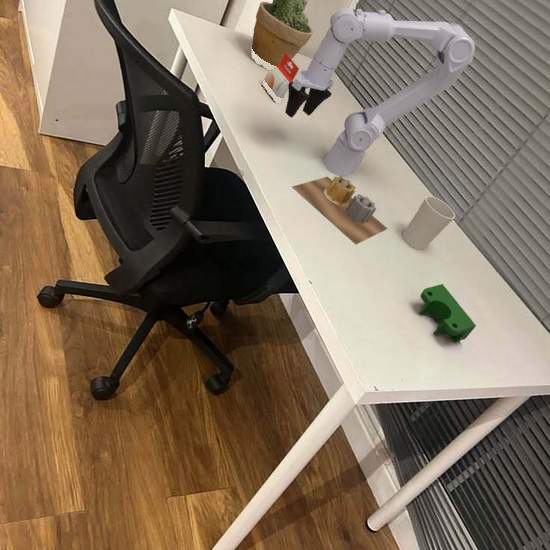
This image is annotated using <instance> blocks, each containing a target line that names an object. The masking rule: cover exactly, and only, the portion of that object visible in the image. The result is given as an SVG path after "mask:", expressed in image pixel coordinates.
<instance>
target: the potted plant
mask: <svg viewBox="0 0 550 550" xmlns="http://www.w3.org/2000/svg"><path fill="white" fill-rule="evenodd" d="M307 5H308V0H272V2H269V1H268V2H267V1H261V2H260V4H259V5H258V10H257V12H256V15H255V20H256V21H255V23H254V27H253V36H252V43H251V47H252V49H253V51H254V52H255V54H257V55H258V56H259V57H260V58H261V59H263V60H264V61H266V62H268V63H270V64H271V65H274V66H278V65H279V64H280V62H281V60H282V58H283V56H284V53H286V54H287V55H288V56H289V58H290V59H291V60H292V61H293V59H294V57H296V55H297V54H298V53H299V52H300V51H301V49H302V48H303V46H305V45H306V44H307V43H308V41H309V40H310V38H312V35H313V34H314V30H313V29H312V27H311V26H310V25H309V22H310V20H309V19H308V17H307V14H305V13H304V11H305V8H306V6H307ZM289 63H290V62H289V61H287V64H288V65H289Z"/></svg>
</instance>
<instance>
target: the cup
mask: <svg viewBox="0 0 550 550" xmlns="http://www.w3.org/2000/svg"><path fill="white" fill-rule="evenodd" d="M455 218H456V214H455V212H454V210H453V209H452V208H451V207H450V206H449V205H448V204H447V203H446V202H445V201H443V200H441V199H440V198H438V197H435V196H433V195H427V196H425V198H424V200H423V202H422V203H421V204H420V206H419V207H418V210H417V212H416V213H415V214H414V216H413V217H412V219H411V221H410V222H409V223H408V225H407V227H406V228H405V229H404V231H403V232H402V234H401V236H402V239H403V241H404V242H405V243H406V244H407V245H408V246H410V248H412V249H414V250H416V251H419V252H420V251H424V250H425V249H426V248H427V247H428V246H429V244H430V243H431V242H433V240H435V239H436V237H438V236H439V235H440V234H441V232H442V231H443V230H445V228H446V227H447V226H448V225H449V224H450V223H451V222H452V221H453V220H454V219H455Z"/></svg>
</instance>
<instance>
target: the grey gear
mask: <svg viewBox="0 0 550 550" xmlns="http://www.w3.org/2000/svg"><path fill="white" fill-rule="evenodd" d="M352 198H353V199H352V201H351V202H350V204H349V205H348V207H347V208H346V210H347V212H348V213H347V215H348V216H350V217H351V218H352V219H354V221H358V222H360V223H362V224H364V223H365V222H368V220H369V219H370V217H371V216H372V215H373V216H374V213H375V212H376V210H377V207H376V204H375V202H374V201H372V200H371V199H370V198H369V197H368V196H364V195H361V193H358V194H357V195H354V196H353V197H352ZM364 198H367V199H368V200H369V201H370V203H369V204H368V206H365V205H363V204H362V203H361V202H362V201H363V199H364Z"/></svg>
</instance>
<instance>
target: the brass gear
mask: <svg viewBox="0 0 550 550" xmlns="http://www.w3.org/2000/svg"><path fill="white" fill-rule="evenodd" d="M342 180H346V181H347V182H348V183H349V184H348V185H347V187H346V188H345V187H343V186H342V185H341V184H340V183H341V182H342ZM355 189H356V186H355V185H353V184H352V182H351V181H350V180H349V179H346V178H345V177H341V176H338V177H337V176H334V177H333V179H332V182H331V184H330V185H329V187H328V189H327V190H326V191H327V193H326V195H327V196H329V197H330V198H331V200H332V201H333V202H336V203H338V204H339V205H342V204H345V205H346V204H347V203H348V202H349V200H350V199H351V197H352V198H353V197H354V196H353V195H354V194H355V192H356V190H355Z"/></svg>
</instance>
